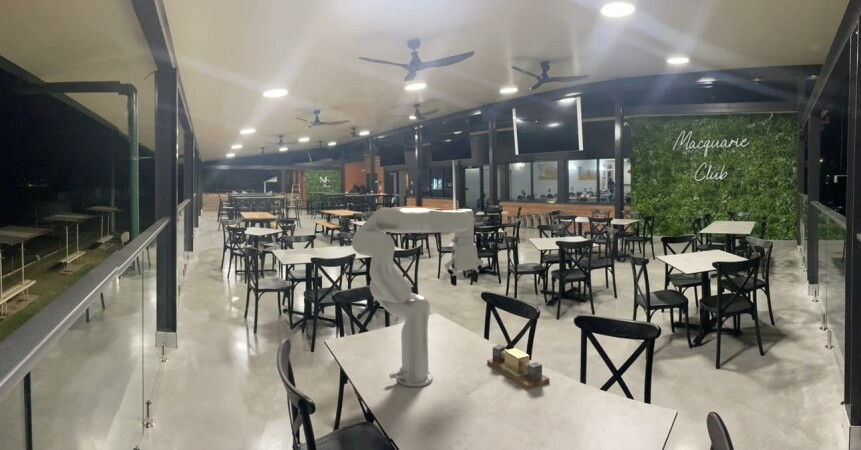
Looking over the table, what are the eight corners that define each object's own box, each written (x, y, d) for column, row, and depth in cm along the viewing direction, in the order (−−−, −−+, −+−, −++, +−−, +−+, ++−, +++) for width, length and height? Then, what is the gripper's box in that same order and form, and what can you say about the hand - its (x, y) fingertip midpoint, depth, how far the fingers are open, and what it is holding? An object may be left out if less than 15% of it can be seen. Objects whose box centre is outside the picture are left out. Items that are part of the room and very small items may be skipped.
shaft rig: (526, 389, 162) (527, 369, 161) (487, 363, 183) (487, 346, 182) (549, 382, 167) (549, 363, 166) (508, 358, 188) (508, 341, 187)
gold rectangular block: (518, 374, 170) (518, 358, 169) (504, 365, 177) (504, 350, 176) (529, 371, 172) (529, 355, 172) (515, 363, 179) (515, 348, 179)
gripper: (449, 244, 177) (450, 288, 179) (487, 240, 185) (488, 282, 187) (440, 241, 184) (440, 284, 186) (477, 237, 191) (477, 278, 194)
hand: (464, 283), depth 186 cm, fingers open, 9 cm apart
